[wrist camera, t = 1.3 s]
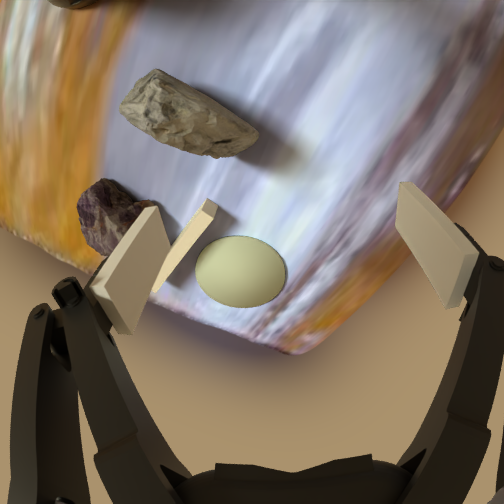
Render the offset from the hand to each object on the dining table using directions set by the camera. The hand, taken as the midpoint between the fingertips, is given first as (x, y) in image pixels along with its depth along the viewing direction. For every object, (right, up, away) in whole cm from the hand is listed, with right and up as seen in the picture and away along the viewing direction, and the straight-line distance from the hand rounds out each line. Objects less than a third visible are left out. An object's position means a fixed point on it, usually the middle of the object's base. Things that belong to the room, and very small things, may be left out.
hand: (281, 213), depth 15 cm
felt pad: (-3, -6, +33) cm, 34 cm away
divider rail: (-13, 0, +30) cm, 33 cm away
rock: (-22, +5, +27) cm, 35 cm away
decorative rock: (-8, +16, +19) cm, 26 cm away
